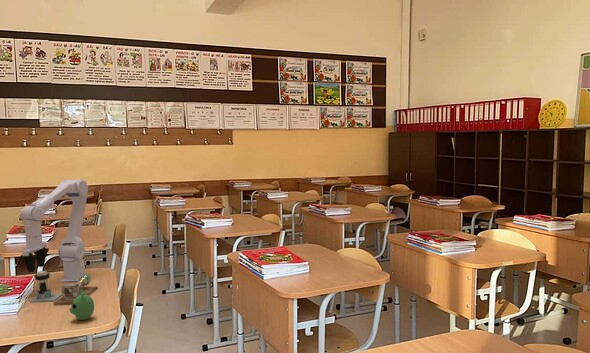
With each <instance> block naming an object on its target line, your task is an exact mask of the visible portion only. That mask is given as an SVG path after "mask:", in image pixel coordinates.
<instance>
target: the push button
mask: <svg viewBox="0 0 590 353" xmlns="http://www.w3.org/2000/svg"><path fill="white" fill-rule="evenodd" d="M50 275H51V273H50V272H48V271H47V270H41V271H38V272H36V274H34V278H35V279H34V280H35V281H36V282H37V291H36V292H35V297H37V299H41V298H49V297H50V296H52V295H51V294H54V295H55V294H56V292H55V291H52V290H51V289H50V288H49V278H50Z"/></svg>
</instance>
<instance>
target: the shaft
mask: <svg viewBox="0 0 590 353" xmlns="http://www.w3.org/2000/svg"><path fill="white" fill-rule="evenodd" d="M91 281H92V280H91V277H90V276H89V275H88V274H87V275H83V276H82V277H80V279H79V280H78V281H75V283H74V284H79V288H80V287H87V285H89V284H90V283H91ZM67 293H68V294H72V293H73V288H68V289H67Z"/></svg>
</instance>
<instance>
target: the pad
mask: <svg viewBox="0 0 590 353" xmlns="http://www.w3.org/2000/svg"><path fill="white" fill-rule="evenodd" d="M54 294H55V295H54ZM51 295H52V296H50V297H49V298H41V299H37V296H35V297H33V298H32V299H31V300H29V302H30V303H44V302H45V303H46V302H55V301H56V300H58V299H59V298H61V297H62V293H51Z"/></svg>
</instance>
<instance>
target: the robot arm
mask: <svg viewBox="0 0 590 353" xmlns="http://www.w3.org/2000/svg"><path fill="white" fill-rule="evenodd" d="M88 191H89V184H88V183H87V182H86V181H85V180H84V179H64V180H62V181H61V182H59V184H58V186H57V187H56V188H55V189H54V190H52V191H51V192H50V193H49V194H48V195H46V194H44V195H43V194H42V195H39V198H38V199H36V200H35V201H34V202H31V203H30V205H26V206H24V207H22V209H21V211H20V214H19V217H20V219H21V220H22V224H23V225H24V233H25V234H24V235H25V244H26V246H24V247H23V250H22V252H21V255H20V259H21V260H22V261H23V263H24V265H25V266H26V270H27V272H28V273H34V272H36V271H35V270H36V264H37V267H38V268H44V267H45V264H46V258H47V255H48V252H49V250H50V249H49V247H48V248H47V242H43V233H42V222H41V220H42V219H43V218H44V214H46V212H48V211H49V210H50V209H51V208H52V207H54V205H55V202H56V201H57V200H58V199H59V200H60V198H62V197H63V196H66V197H67V198H68V199H69V200H71V202H72V205H71V210H70V211H71V212H70V216H69V222H68V227H67V233H66V237H64V238H63V239H62V240H61V242H60V245H59V247H58V250H57V254H58V257H59V258H61V261H62V264H63V276H64V277H63V279H61V280H60V283H64V282H66V283H67V282H70V283H72V282H78V280H79V279H80V277H82V276H83V275H88V274H86V269H85V268H86V267H85V260H84V256H85V253H86V249H85V244H86V243H85V241H84V240H82V238H81V236H82V235H81V234H82V228H83V222H84V217H85V211H86V206H87V201H88V200H87V197H88ZM33 253H34V254H33Z"/></svg>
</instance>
